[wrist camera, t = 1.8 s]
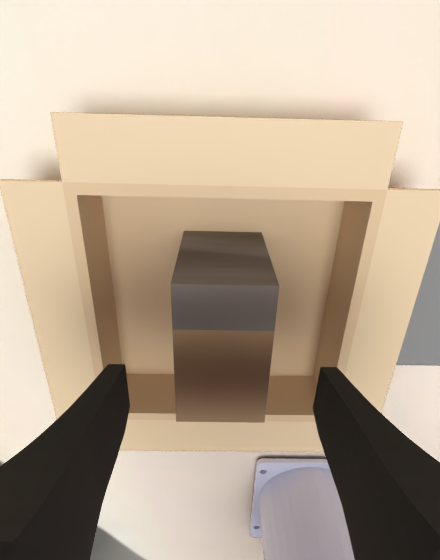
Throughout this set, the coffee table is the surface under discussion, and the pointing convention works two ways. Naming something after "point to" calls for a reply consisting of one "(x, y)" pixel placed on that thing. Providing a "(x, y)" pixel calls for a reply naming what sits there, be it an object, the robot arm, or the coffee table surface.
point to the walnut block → (223, 326)
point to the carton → (230, 218)
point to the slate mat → (425, 317)
